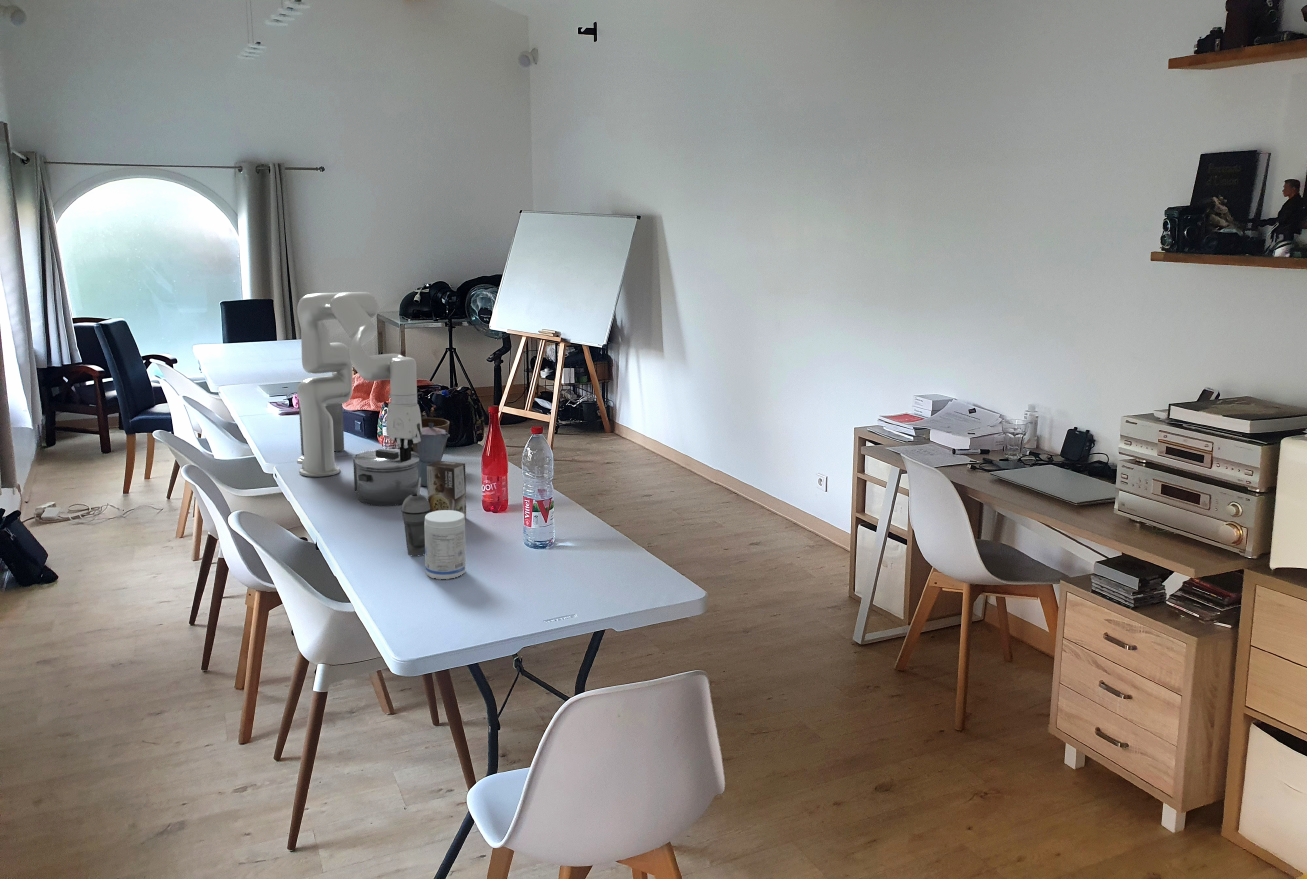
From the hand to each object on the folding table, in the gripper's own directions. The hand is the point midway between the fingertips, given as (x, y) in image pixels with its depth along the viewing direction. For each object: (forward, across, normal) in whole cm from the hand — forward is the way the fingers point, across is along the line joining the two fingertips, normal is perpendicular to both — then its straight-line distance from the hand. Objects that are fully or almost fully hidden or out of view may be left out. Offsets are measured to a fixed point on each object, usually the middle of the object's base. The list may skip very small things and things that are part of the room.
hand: (405, 459), depth 285 cm
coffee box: (+13, +21, -8) cm, 26 cm away
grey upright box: (+13, -65, +33) cm, 74 cm away
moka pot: (+13, -7, +19) cm, 24 cm away
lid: (+1, -7, 0) cm, 8 cm away
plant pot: (+13, -19, +34) cm, 41 cm away
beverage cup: (+13, +32, -35) cm, 49 cm away
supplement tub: (+13, +47, -43) cm, 65 cm away
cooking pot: (+13, -7, 0) cm, 15 cm away
